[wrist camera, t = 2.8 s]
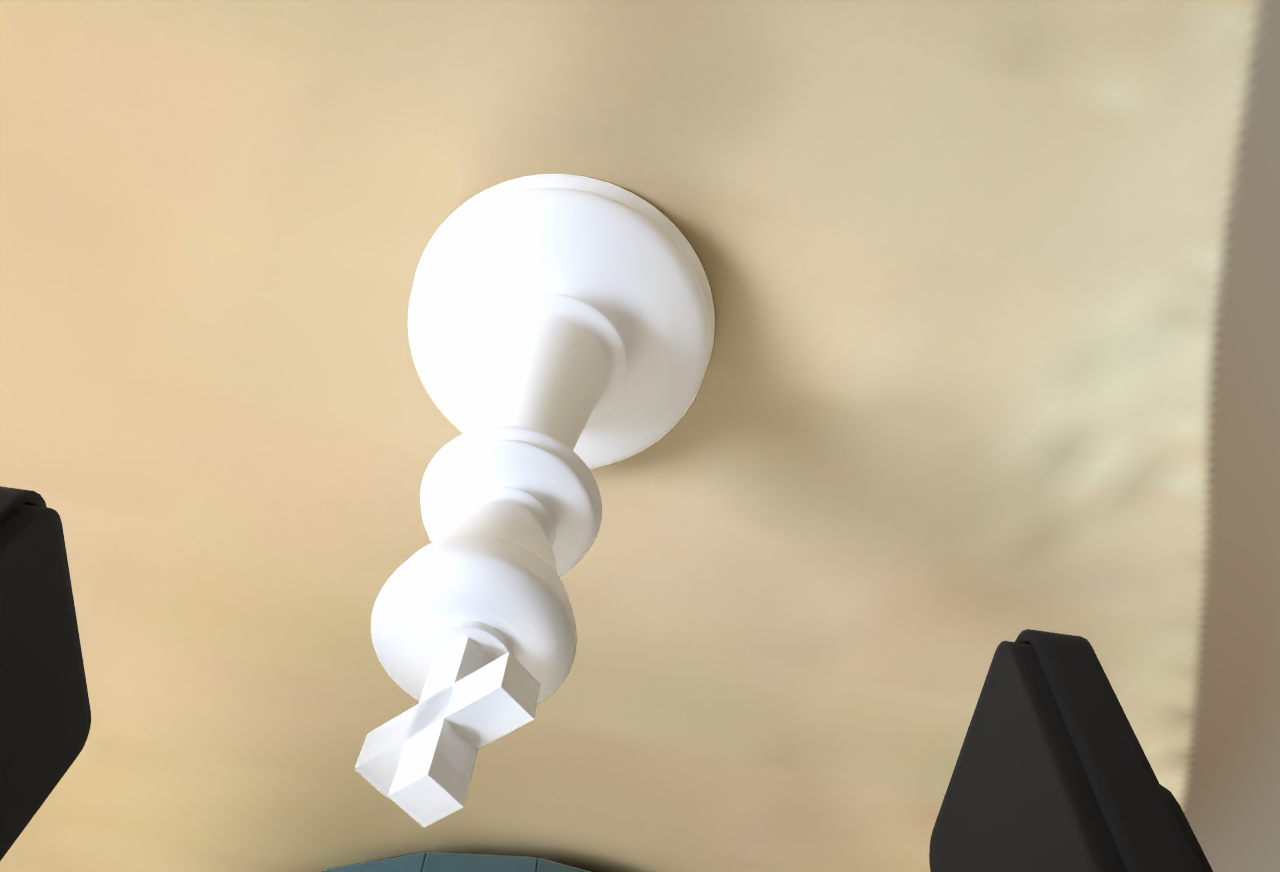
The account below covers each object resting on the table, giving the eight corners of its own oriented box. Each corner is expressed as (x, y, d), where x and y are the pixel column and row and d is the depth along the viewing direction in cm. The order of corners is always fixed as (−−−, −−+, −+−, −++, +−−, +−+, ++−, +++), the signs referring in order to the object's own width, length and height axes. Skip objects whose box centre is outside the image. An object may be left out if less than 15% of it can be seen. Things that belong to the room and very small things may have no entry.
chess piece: (773, 357, 17) (849, 862, 9) (540, 502, 19) (406, 1055, 10) (590, 106, 16) (455, 425, 7) (350, 289, 17) (-10, 738, 8)
